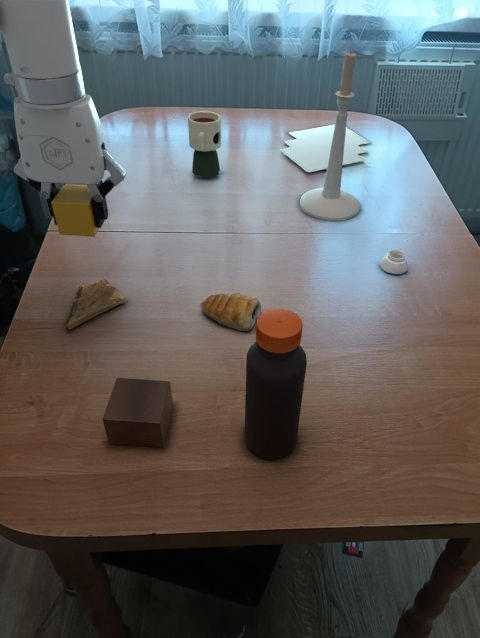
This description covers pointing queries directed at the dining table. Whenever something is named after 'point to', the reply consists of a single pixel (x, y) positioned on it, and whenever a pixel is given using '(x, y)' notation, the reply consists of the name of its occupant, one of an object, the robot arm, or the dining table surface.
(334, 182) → the candlestick
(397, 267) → the white jar
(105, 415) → the walnut block
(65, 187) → the mustard block
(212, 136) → the character mug
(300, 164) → the paper stack
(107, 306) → the toasted sandwich
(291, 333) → the bottle
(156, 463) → the dining table surface
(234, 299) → the pastry
